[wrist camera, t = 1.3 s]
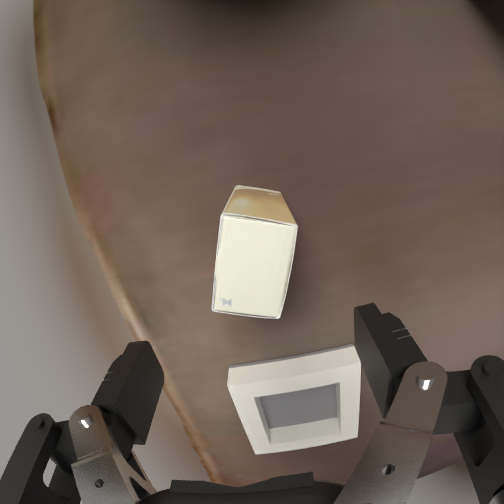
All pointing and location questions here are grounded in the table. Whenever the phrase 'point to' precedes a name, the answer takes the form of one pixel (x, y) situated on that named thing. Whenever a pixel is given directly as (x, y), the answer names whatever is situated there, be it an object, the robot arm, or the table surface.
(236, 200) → the skincare box
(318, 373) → the holder
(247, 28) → the table surface
